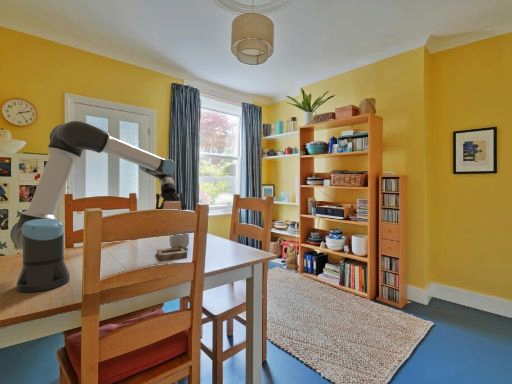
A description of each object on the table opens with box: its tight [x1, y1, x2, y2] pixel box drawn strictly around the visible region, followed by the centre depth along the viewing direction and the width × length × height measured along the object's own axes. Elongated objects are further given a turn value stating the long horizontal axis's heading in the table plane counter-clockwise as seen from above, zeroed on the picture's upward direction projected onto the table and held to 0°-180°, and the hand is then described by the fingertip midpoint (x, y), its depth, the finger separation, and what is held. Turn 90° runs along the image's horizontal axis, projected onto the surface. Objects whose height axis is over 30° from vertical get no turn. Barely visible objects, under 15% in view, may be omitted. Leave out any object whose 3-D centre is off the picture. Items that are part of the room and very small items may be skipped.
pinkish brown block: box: [162, 200, 182, 210], centre depth 134 cm, size 8×4×15 cm, turn 118°
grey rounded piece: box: [169, 233, 190, 250], centre depth 150 cm, size 14×11×8 cm
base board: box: [156, 247, 188, 261], centre depth 134 cm, size 13×12×2 cm
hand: (173, 219), depth 131 cm, fingers closed on pinkish brown block, 8 cm apart
